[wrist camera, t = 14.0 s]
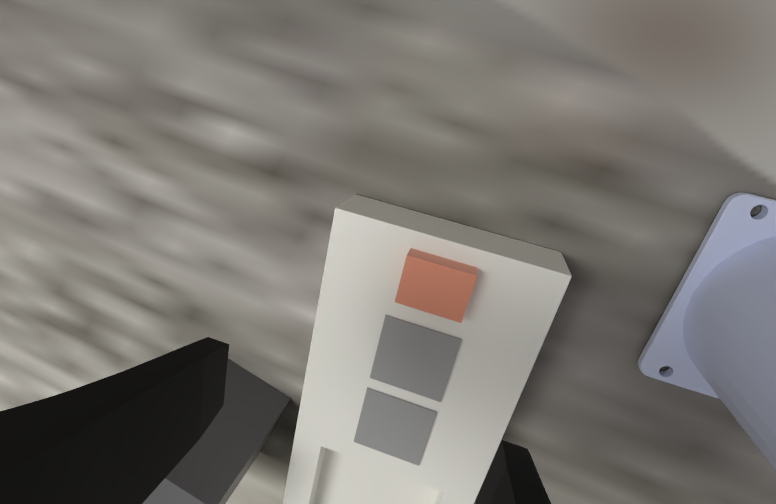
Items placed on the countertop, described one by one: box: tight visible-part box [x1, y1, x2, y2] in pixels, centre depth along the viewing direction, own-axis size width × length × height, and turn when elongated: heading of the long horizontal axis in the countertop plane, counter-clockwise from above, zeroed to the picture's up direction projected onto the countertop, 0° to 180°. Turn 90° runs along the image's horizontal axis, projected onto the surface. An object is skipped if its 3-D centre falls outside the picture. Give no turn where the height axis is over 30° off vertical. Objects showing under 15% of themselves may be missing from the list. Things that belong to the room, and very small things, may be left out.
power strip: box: [282, 194, 572, 504], centre depth 20 cm, size 9×22×3 cm, turn 167°
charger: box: [142, 359, 291, 504], centre depth 21 cm, size 5×5×7 cm
